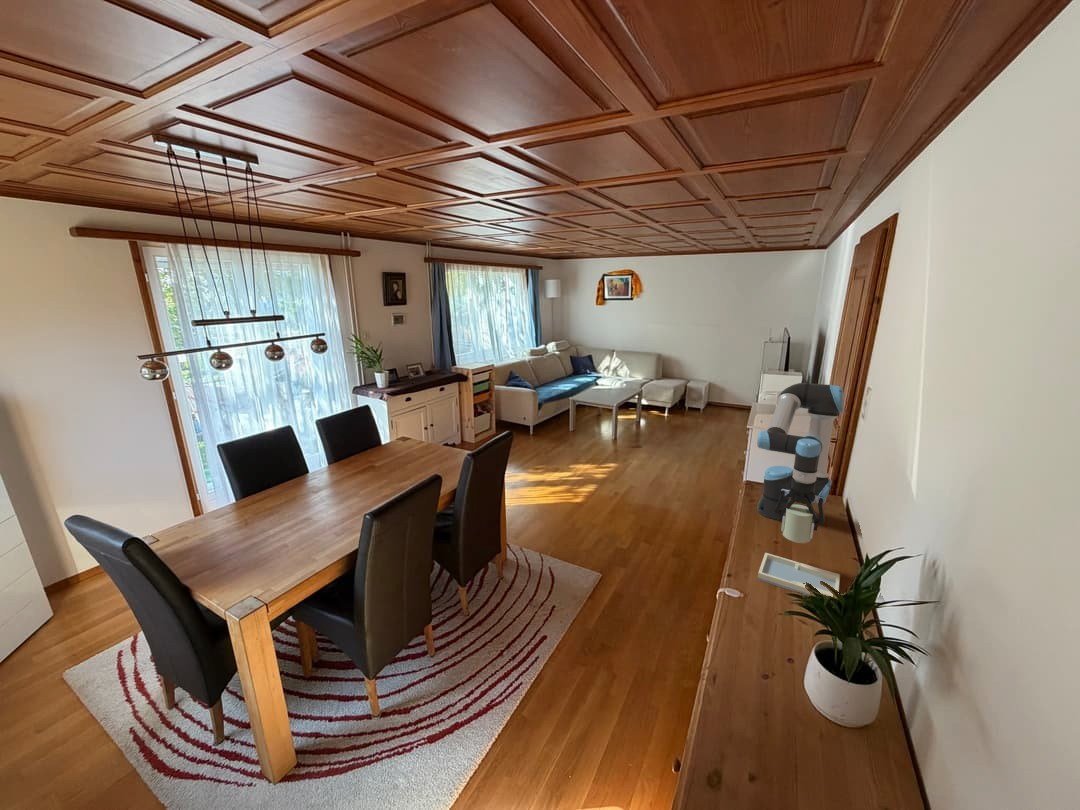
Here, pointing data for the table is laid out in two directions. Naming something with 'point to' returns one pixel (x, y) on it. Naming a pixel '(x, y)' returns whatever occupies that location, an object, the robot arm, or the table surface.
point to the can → (798, 524)
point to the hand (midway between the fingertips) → (796, 533)
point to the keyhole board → (796, 575)
